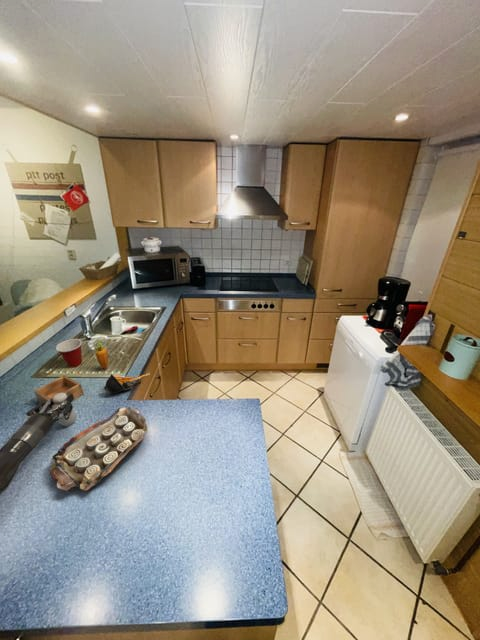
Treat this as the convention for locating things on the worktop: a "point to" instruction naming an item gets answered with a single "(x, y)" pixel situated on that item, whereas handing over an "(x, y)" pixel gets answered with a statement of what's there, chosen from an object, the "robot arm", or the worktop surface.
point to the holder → (59, 389)
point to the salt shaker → (58, 400)
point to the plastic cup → (71, 351)
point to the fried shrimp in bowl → (121, 383)
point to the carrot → (102, 356)
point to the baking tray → (97, 449)
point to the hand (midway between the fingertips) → (65, 395)
